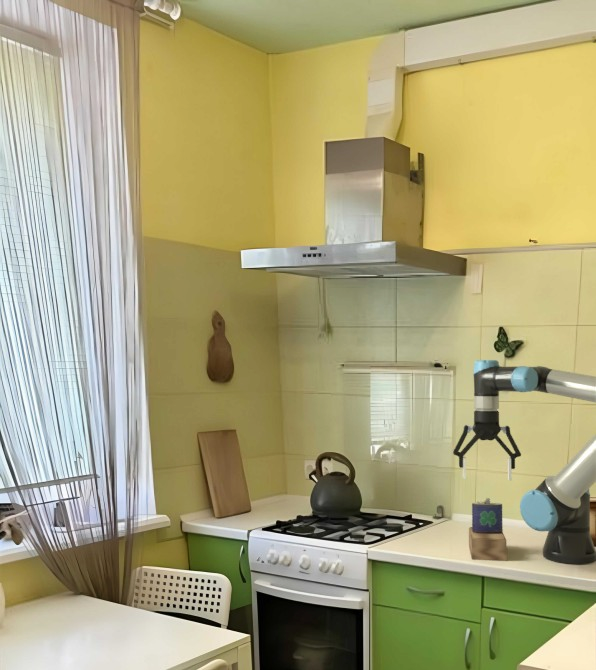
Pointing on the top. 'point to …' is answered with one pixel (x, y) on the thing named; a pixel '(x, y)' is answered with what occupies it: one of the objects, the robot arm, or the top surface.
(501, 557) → the walnut block
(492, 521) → the flask
